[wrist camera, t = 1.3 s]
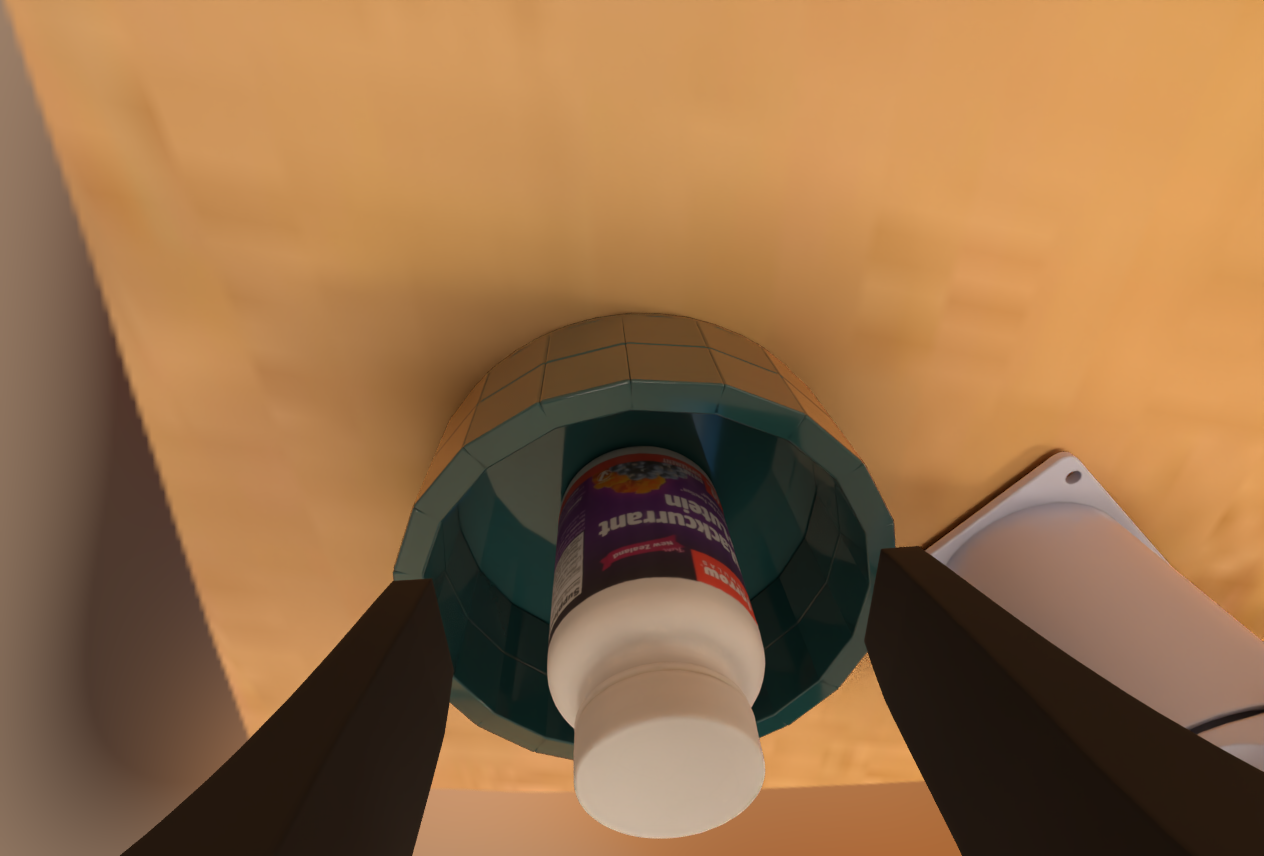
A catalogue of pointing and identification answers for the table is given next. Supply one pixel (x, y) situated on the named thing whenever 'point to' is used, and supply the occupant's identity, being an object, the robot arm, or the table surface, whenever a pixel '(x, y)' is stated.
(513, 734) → the pot
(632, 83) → the table surface
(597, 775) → the pill bottle
